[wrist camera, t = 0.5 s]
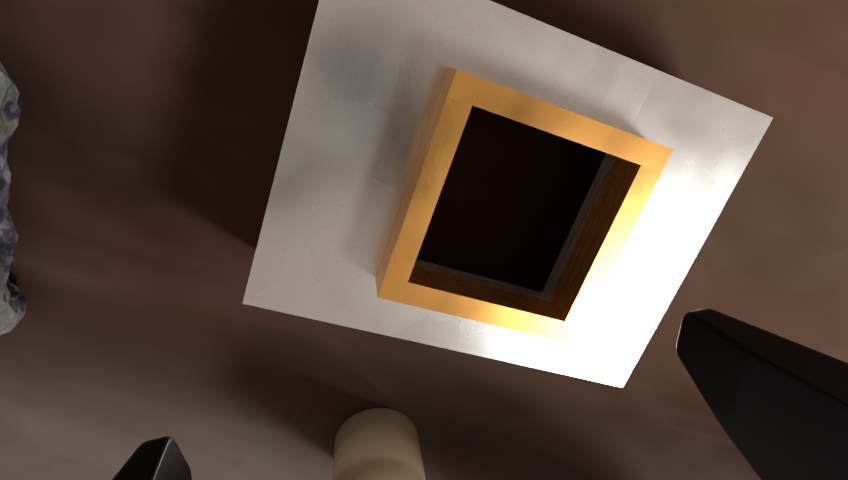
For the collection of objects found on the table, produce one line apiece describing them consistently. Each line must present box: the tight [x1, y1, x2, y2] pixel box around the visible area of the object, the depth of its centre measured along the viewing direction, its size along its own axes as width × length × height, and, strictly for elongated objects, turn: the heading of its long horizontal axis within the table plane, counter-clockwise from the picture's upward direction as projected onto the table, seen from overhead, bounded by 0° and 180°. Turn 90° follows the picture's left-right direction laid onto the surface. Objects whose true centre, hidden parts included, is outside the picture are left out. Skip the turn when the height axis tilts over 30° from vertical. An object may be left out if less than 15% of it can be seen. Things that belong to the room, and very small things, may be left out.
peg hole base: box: [242, 0, 773, 388], centre depth 19 cm, size 12×16×6 cm
